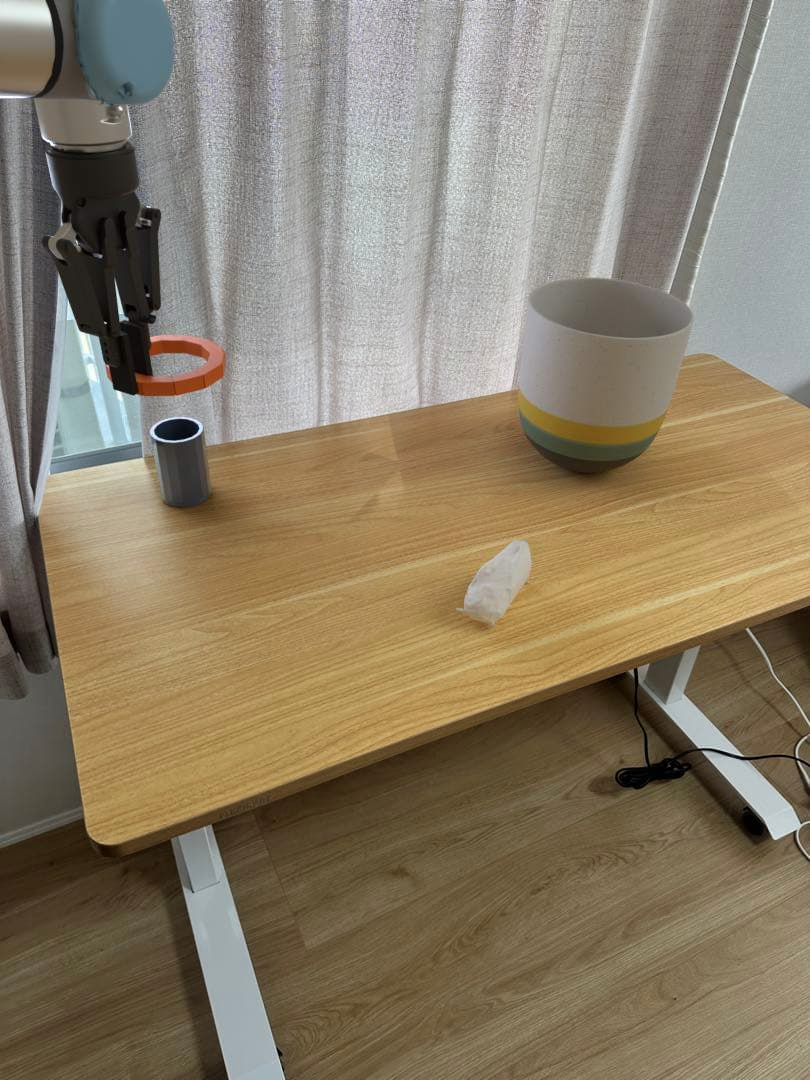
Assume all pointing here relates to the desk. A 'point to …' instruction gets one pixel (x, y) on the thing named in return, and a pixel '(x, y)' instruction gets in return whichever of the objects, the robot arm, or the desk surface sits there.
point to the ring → (183, 381)
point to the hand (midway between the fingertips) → (134, 386)
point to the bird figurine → (498, 583)
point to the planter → (599, 369)
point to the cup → (181, 461)
